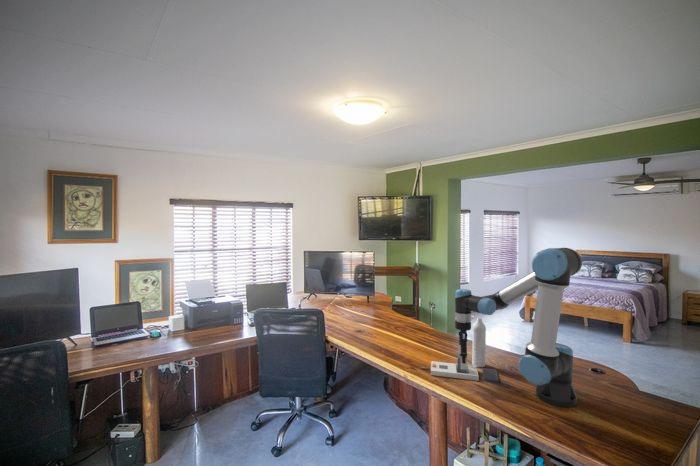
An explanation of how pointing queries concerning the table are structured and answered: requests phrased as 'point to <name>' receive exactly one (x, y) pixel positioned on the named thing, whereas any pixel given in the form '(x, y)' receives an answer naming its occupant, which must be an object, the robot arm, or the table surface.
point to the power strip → (452, 371)
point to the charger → (459, 365)
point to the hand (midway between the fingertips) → (462, 363)
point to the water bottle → (478, 343)
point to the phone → (490, 375)
